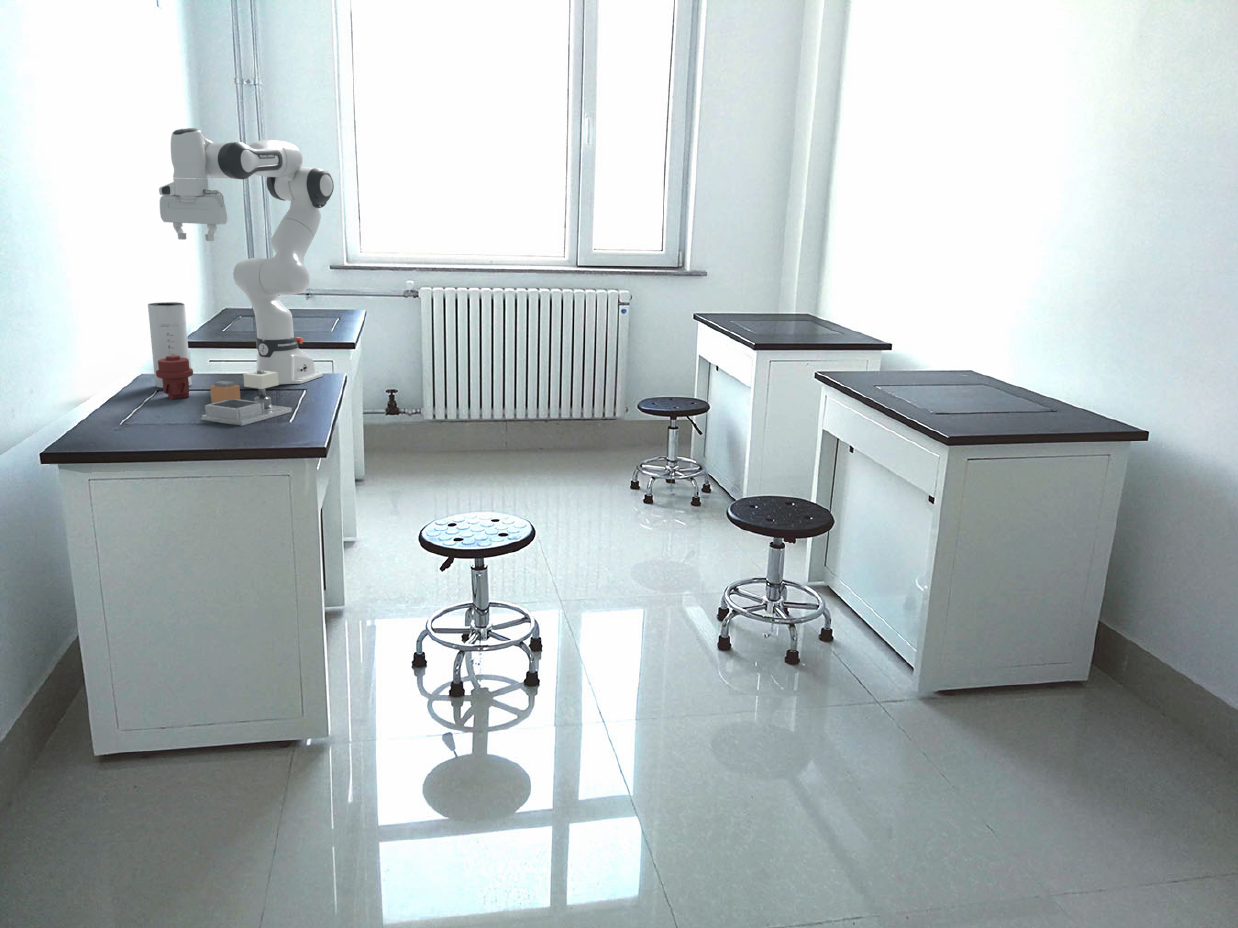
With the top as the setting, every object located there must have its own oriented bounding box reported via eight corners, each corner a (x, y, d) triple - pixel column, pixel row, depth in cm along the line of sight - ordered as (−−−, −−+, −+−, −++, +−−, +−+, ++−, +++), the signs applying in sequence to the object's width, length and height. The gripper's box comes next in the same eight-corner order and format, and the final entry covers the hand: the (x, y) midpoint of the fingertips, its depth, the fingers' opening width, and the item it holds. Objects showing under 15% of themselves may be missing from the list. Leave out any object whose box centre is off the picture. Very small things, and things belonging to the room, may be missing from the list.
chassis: (253, 406, 278) (249, 366, 275) (291, 411, 273) (289, 371, 270) (202, 419, 261) (198, 377, 258) (242, 425, 256) (238, 382, 253)
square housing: (260, 382, 275) (259, 370, 274) (278, 385, 272) (277, 372, 271) (244, 386, 269) (243, 373, 268) (262, 388, 267) (261, 375, 266)
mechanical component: (202, 395, 292) (181, 401, 282) (172, 393, 293) (151, 399, 284) (198, 354, 288) (177, 359, 279) (168, 352, 290) (146, 357, 281)
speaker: (194, 382, 310) (186, 300, 303) (190, 388, 300) (181, 304, 293) (158, 383, 307) (149, 300, 300) (152, 389, 297) (143, 304, 290)
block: (225, 403, 282) (223, 379, 280) (241, 405, 279) (239, 381, 278) (211, 406, 277) (209, 382, 275) (228, 409, 275) (226, 384, 273)
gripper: (230, 190, 270) (234, 241, 274) (170, 188, 276) (175, 238, 280) (214, 190, 264) (218, 242, 268) (153, 188, 270) (158, 239, 274)
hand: (196, 240), depth 274 cm, fingers open, 8 cm apart
